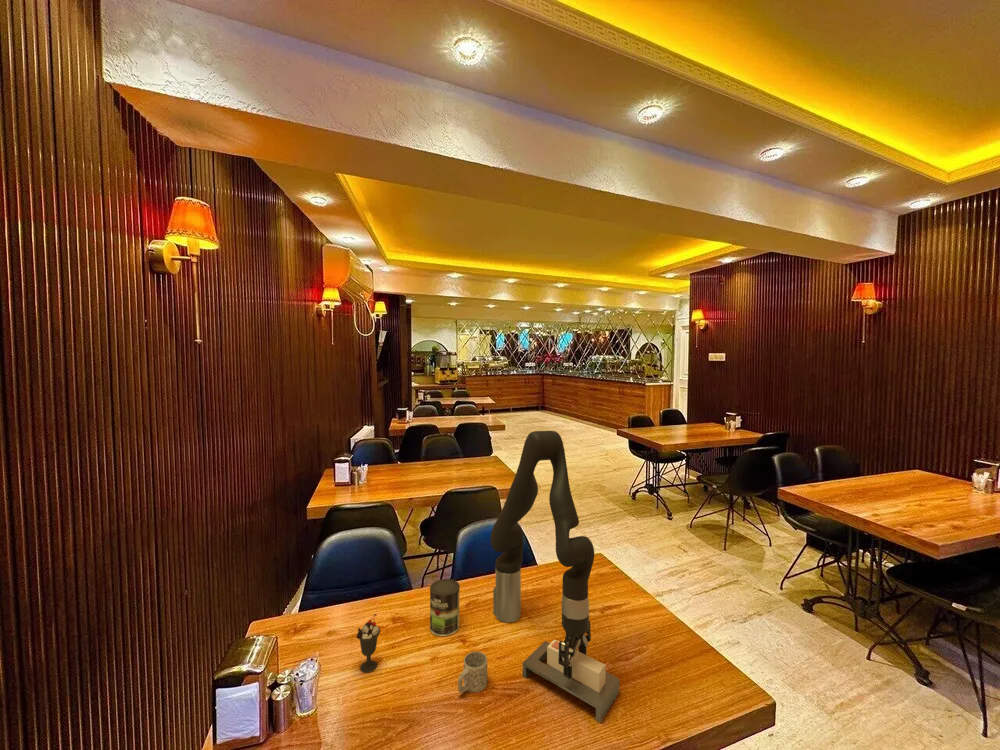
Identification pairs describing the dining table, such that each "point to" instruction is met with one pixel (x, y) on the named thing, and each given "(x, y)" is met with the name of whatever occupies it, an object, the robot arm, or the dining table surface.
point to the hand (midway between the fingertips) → (575, 668)
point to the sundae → (368, 644)
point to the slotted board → (573, 682)
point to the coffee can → (444, 607)
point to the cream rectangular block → (579, 667)
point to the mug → (474, 673)
